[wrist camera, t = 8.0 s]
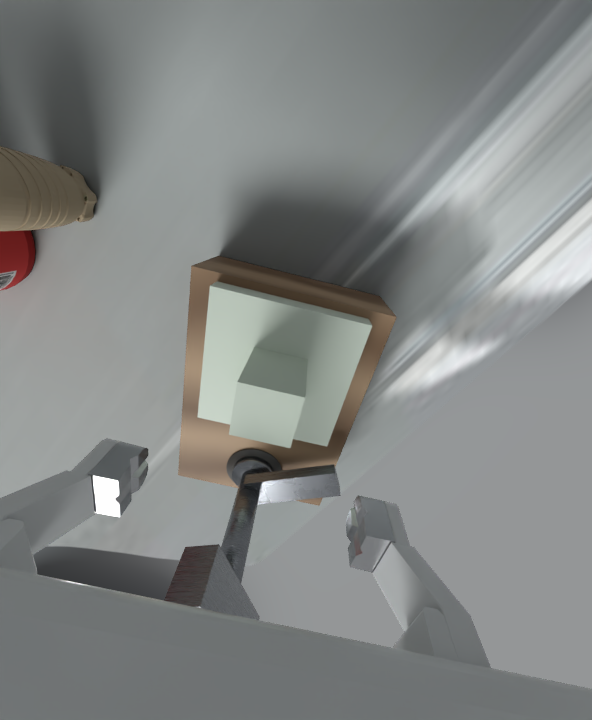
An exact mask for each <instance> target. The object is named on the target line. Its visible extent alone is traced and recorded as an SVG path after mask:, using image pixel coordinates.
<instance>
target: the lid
mask: <svg viewBox="0 0 592 720" xmlns="http://www.w3.org/2000/svg"><path fill="white" fill-rule="evenodd" d="M371 328H372V324H371V322H370V320H369V319H367V318H363V317H359V316H355V315H351V314H347V313H343V312H339V311H335V310H331V309H327V308H323V307H319V306H314V305H310V304H306V303H302V302H298V301H294V300H290V299H286V298H282V297H278V296H274V295H270V294H266V293H262V292H258V291H254V290H250V289H246V288H242V287H238V286H234V285H230V284H226V283H222V282H218V281H217V282H215V283H213V284H212V285H210V290H209V301H208V311H207V322H206V332H205V343H204V353H203V364H202V375H201V385H200V396H199V406H198V418H203V419H207V420H212V421H216V422H220V423H225V424H229V425H230V430H229V435H233V436H237V437H242V438H246V439H251V440H255V441H260V442H264V443H268V444H273V445H277V446H282V447H286V448H290V447H291V444H292V441H293V439H296V440H300V441H304V442H309V443H313V444H318V445H322V446H326V447H327V445H328V443H329V440H330V437H331V435H332V432H333V429H334V427H335V424H336V421H337V419H338V416H339V413H340V411H341V408H342V405H343V403H344V400H345V397H346V395H347V392H348V389H349V387H350V384H351V381H352V379H353V376H354V373H355V371H356V368H357V365H358V363H359V360H360V357H361V355H362V352H363V349H364V347H365V344H366V341H367V339H368V336H369V333H370V331H371Z"/></svg>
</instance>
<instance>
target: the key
mask: <svg viewBox="0 0 592 720" xmlns="http://www.w3.org/2000/svg"><path fill="white" fill-rule="evenodd" d="M232 479H233V481H234V483H235V484H236V485H237V486H238V487H239V488H238V491H237V495H236V498H235V502H234V505H233V509H232V512H231V516H230V519H229V522H228V526H227V529H226V533H225V536H224V540H223V543H222V546H221V547H220V545H219V544H218V545H206V546H193V547H185V549H184V552H183V554H182V557H181V559H180V562H179V564H178V567H177V570H176V572H175V575H174V577H173V579H172V582H171V585H170V587H169V589H168V592H167V594H166V597H165V599H164V601H168V602H173V603H178V604H182V605H187V606H192V607H197V608H202V609H207V610H212V611H216V612H221V613H226V614H231V615H236V616H241V617H245V618H250V619H255V620H259V615H258V613H257V612H256V610H255V608H254V606H253V604H252V603H251V601H250V599H249V597H248V596H247V594H246V592H245V590H244V588H243V586H242V585H241V581H242V576H243V571H244V567H245V562H246V557H247V552H248V547H249V543H250V538H251V533H252V528H253V523H254V519H255V514H256V509H257V504H265V503H275V502H284V501H294V500H304V499H313V498H323V497H333V496H340V486H339V482H338V478H337V473H336V469H335V465H334V464H331V465H323V466H315V467H307V468H298V469H290V470H282V471H274V470H273V467H272V466H271V465H270V463H268V462H267V461H266V460H264V459H262V458H259V457H254V456H249V457H244V458H241V459H240V460H238V461H237V462H236V463H235V465H234V468H233V471H232Z"/></svg>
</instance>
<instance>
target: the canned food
mask: <svg viewBox="0 0 592 720" xmlns="http://www.w3.org/2000/svg"><path fill="white" fill-rule="evenodd" d="M34 261H35V246H34V240H33V237H32V233H31V230H24V231H0V290H4V289H8V288H10V287H12V286H15V285H16V284H18V283H19V282H21V281H22V280H23V279H25V278H26V277H27V276H28V275H29V273H30V272H31V270H32V268H33V265H34Z"/></svg>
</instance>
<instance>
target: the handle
mask: <svg viewBox="0 0 592 720" xmlns="http://www.w3.org/2000/svg"><path fill="white" fill-rule="evenodd" d="M96 202H97V198H96V195H95V194H94V193H93V192H92V191H91V190H90V189H89V187H88V186H87V184H86V183H85V180H84V177H83V176H82V175H81V174H80V173H79V172H77V171H75V170H73V169H71V168H68V167H65V166H62V165H60V167H59V166H57V165H55V164H53V163H51V162H49V161H46V160H43V159H41V158H38V157H35V156H32V155H29V154H26V153H22V152H19V151H15V150H12V149H9V148H5V147H1V146H0V231H24V230H37V229H46V228H53V227H58V226H63V225H67V224H70V223H72V222H74V221H79V222H85V221H88V220H91V219H92V218H93V216H94V214H93V207H94V205H95V203H96Z"/></svg>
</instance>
